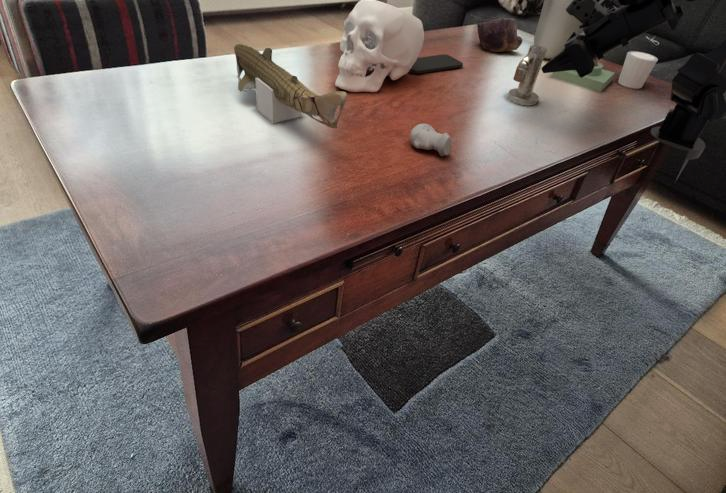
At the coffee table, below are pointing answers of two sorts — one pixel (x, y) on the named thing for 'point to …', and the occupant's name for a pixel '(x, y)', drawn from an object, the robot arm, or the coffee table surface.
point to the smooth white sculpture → (430, 139)
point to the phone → (435, 64)
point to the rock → (499, 34)
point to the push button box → (587, 78)
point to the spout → (528, 62)
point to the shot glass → (636, 69)
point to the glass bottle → (555, 27)
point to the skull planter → (377, 45)
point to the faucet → (527, 87)
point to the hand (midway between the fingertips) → (542, 70)
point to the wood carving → (283, 90)
